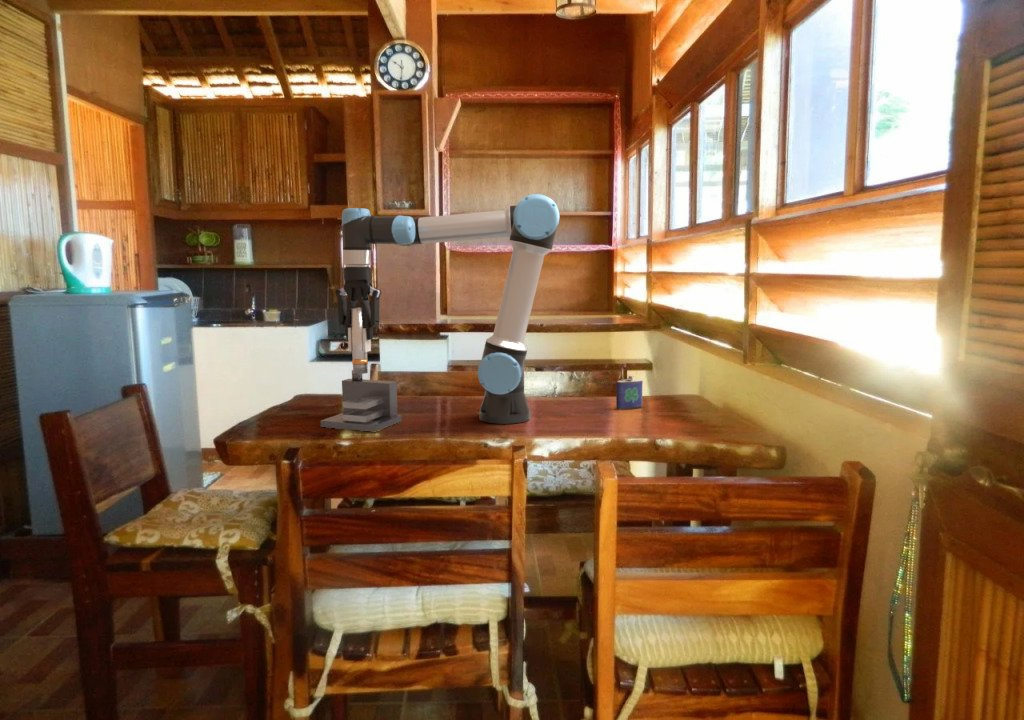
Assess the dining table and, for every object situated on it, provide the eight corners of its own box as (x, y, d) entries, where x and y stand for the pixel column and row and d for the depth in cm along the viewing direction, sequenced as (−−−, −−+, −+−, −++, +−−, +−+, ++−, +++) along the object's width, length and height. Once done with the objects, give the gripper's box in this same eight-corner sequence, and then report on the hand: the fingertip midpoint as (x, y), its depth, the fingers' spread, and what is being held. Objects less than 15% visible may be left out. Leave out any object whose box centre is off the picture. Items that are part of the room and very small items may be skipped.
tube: (370, 372, 192) (369, 308, 189) (362, 374, 188) (360, 308, 185) (358, 371, 193) (356, 307, 191) (349, 373, 189) (347, 308, 187)
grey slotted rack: (401, 421, 200) (400, 371, 198) (375, 432, 187) (374, 378, 185) (349, 417, 206) (347, 368, 204) (320, 427, 193) (318, 375, 191)
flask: (639, 406, 220) (640, 373, 219) (644, 408, 217) (645, 374, 216) (614, 408, 217) (615, 375, 215) (619, 410, 214) (619, 376, 212)
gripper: (391, 266, 187) (393, 350, 190) (338, 266, 193) (341, 348, 196) (377, 266, 180) (379, 354, 183) (322, 266, 186) (325, 351, 189)
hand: (359, 350), depth 190 cm, fingers closed on tube, 4 cm apart
